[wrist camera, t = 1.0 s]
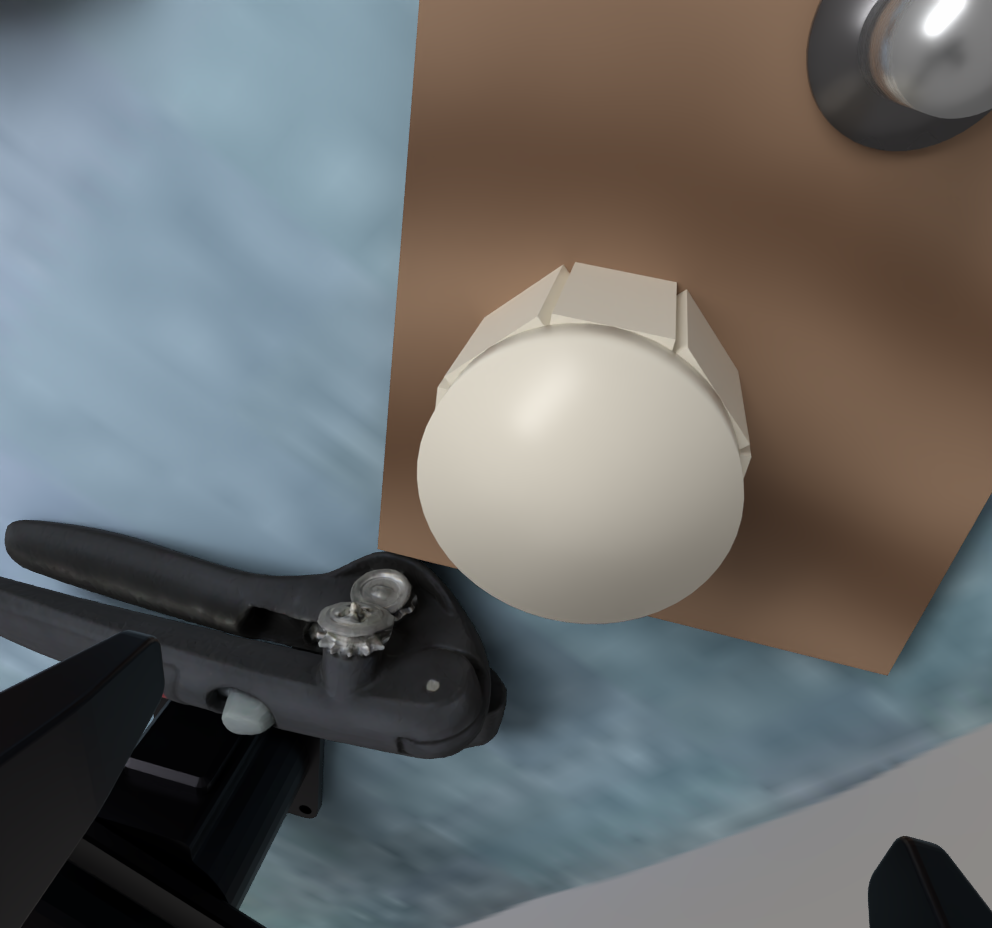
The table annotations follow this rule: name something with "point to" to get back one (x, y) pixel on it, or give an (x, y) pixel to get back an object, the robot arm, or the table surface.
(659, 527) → the cap
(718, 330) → the board
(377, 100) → the table surface
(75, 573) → the can opener
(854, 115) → the door knob
